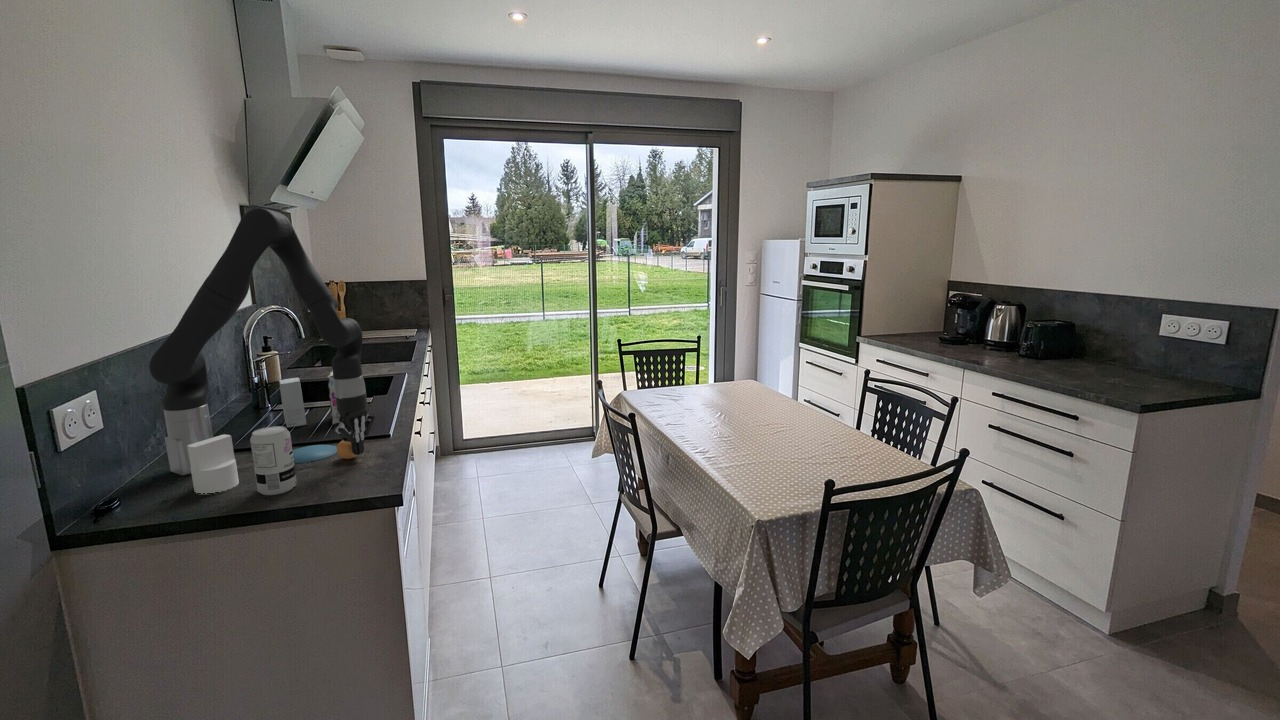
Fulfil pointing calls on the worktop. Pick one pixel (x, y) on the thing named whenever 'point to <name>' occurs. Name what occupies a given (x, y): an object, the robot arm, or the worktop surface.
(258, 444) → the supplement can
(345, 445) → the ball
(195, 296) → the robot arm
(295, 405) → the skincare box
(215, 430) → the worktop surface
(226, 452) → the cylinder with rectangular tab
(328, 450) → the disc
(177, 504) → the worktop surface
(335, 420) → the candy bar box
